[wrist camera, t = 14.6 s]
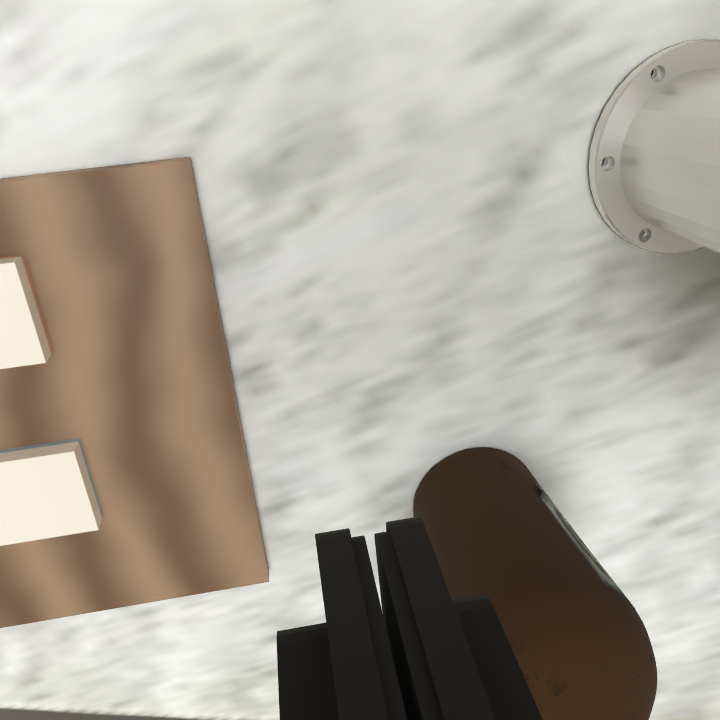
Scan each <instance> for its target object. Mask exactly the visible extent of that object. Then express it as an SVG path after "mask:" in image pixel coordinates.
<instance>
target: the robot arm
mask: <svg viewBox="0 0 720 720" xmlns="http://www.w3.org/2000/svg"><path fill="white" fill-rule="evenodd" d="M652 70H653V75H652V77H651V72H652ZM603 159H604V160H605V161H604V164H603V165H601V162H602V160H603ZM589 178H590V188H591V191H592V194H593V198H594V201H595V205H596V206H597V208H598V210H599V212H600V214H601V216H602V218H603V219H604V221H605V222H606V223H607V224H608V225H609V226H610V227H611V229H612V230H613V231H614V232H615V233H617V234H618V235H619V236H621V237H622V238H624V239H625V240H626V241H628V242H630V243H632V244H634V245H636V246H638V247H640V248H643V249H647V250H650V251H654V252H659V253H681V252H688V251H693V250H696V249H699V248H702V247H706V248H708V249H710V250H713V251H715V252H717V253H720V40H709V39H706V40H696V41H687V42H684V43H681V44H678V45H675V46H672V47H669V48H666V49H664V50H663V51H661V52H659V53H657V54H655V55H654V56H652V57H650V58H648V59H647V60H646V61H645V62H643V63H642V64H641V65H640V66H638V67H637V68H636V69H635V70H633V71H632V72H631V73H630V74H629V75H628V77H627V78H626V79H625V80H624V81H623V82H622V83H621V84H620V85H619V87H618V88H617V89H616V90H615V92H614V94H613V95H612V97H611V98H610V100H609V101H608V103H607V104H606V106H605V108H604V110H603V112H602V114H601V117H600V119H599V121H598V123H597V126H596V128H595V132H594V136H593V140H592V143H591V147H590V158H589ZM640 231H641V232H640ZM639 232H640V234H639ZM386 531H387V532H382V533H376V534H375V546H376V555H377V565H378V574H379V584H380V593H381V603H382V609H381V605H380V601H379V597H378V592H377V588H376V584H375V579H374V575H373V571H372V566H371V562H370V558H369V553H368V549H367V545H366V541H365V537H364V536H358V537H352V538H351V534H350V530H349V528H348V529H342V530H336V531H330V532H325V533H319V534H315V538H316V546H317V554H318V561H319V569H320V577H321V584H322V592H323V600H324V608H325V615H326V623H321V624H316V625H310V626H305V627H299V628H293V629H288V630H282V631H277V660H278V684H279V709H280V720H543V719H542V717H541V714H540V712H539V710H538V707H537V705H536V703H535V701H534V698H533V696H532V694H531V691H530V689H529V687H528V685H527V682H526V680H525V678H524V675H523V673H522V671H521V668H520V666H519V664H518V662H517V659H516V657H515V655H514V652H513V650H512V648H511V646H510V643H509V641H508V639H507V636H506V634H505V632H504V630H503V627H502V625H501V623H500V620H499V618H498V616H497V614H496V611H495V609H494V607H493V605H492V603H491V601H490V599H489V597H488V596H487V595H486V594H483V595H478V596H472V597H466V598H461V599H455V600H452V599H451V596H450V593H449V591H448V588H447V585H446V582H445V580H444V577H443V574H442V571H441V569H440V566H439V563H438V560H437V558H436V555H435V552H434V550H433V547H432V544H431V541H430V539H429V536H428V533H427V530H426V528H425V525H424V522H423V520H422V518H421V517H414V518H408V519H402V520H396V521H390V522H387V523H386ZM382 612H383V614H382Z"/></svg>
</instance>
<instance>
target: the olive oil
mask: <svg viewBox="0 0 720 720" xmlns="http://www.w3.org/2000/svg"><path fill="white" fill-rule="evenodd" d="M413 511H414V517H421V518H422V520H423V522H424V525H425V528H426V530H427V533H428V536H429V539H430V541H431V544H432V547H433V550H434V552H435V555H436V558H437V560H438V563H439V566H440V569H441V571H442V574H443V577H444V580H445V582H446V585H447V588H448V591H449V593H450V596H451V599H452V600H455V599H461V598H466V597H472V596H478V595H483V594H486V595H487V596H488V597H489V599H490V601H491V603H492V605H493V607H494V609H495V611H496V614H497V616H498V618H499V620H500V623H501V625H502V627H503V630H504V632H505V634H506V636H507V639H508V641H509V643H510V646H511V648H512V650H513V652H514V655H515V657H516V659H517V662H518V664H519V666H520V668H521V671H522V673H523V675H524V678H525V680H526V682H527V685H528V687H529V689H530V691H531V694H532V696H533V698H534V701H535V703H536V705H537V707H538V710H539V712H540V714H541V717H542V719H543V720H649V717H650V714H651V711H652V707H653V704H654V700H655V695H656V689H657V668H656V661H655V657H654V653H653V649H652V646H651V642H650V639H649V636H648V633H647V631H646V628H645V626H644V624H643V622H642V620H641V618H640V617H639V615H638V613H637V612H636V610H635V608H634V607H633V605H632V604H631V603H630V601H629V600H628V599H627V598H626V596H625V595H624V594H623V592H622V591H621V590H620V589H619V587H618V586H617V585H616V584H615V582H614V581H613V580H612V579H611V577H610V576H609V575H608V573H607V572H606V571H605V570H604V568H603V567H602V566H601V565H600V563H599V562H598V561H597V560H596V558H595V557H594V556H593V554H592V553H591V552H590V551H589V549H588V548H587V547H586V545H585V544H584V543H583V541H582V540H581V539H580V538H579V536H578V535H577V534H576V532H575V531H574V530H573V528H572V527H571V526H570V525H569V523H568V522H567V521H566V519H565V518H564V517H563V515H562V514H561V513H560V512H559V510H558V509H557V508H556V506H555V505H554V504H553V502H552V501H551V499H550V498H549V497H548V495H547V494H546V493H545V492H544V490H543V489H542V488H541V486H540V485H539V483H538V482H537V481H536V479H535V478H534V477H533V475H532V474H531V472H530V471H529V470H528V468H527V467H526V466H525V465H524V464H523V463H522V462H521V461H520V460H519V459H517V458H516V457H515V456H513V455H511V454H509V453H507V452H504V451H501V450H497V449H491V448H476V449H470V450H465V451H462V452H459V453H456V454H454V455H452V456H450V457H448V458H446V459H444V460H443V461H441V462H440V463H439V464H437V465H436V466H435V467H434V468H433V469H432V470H431V471H430V472H429V473H428V474H427V475H426V476H425V477H424V479H423V480H422V482H421V484H420V485H419V487H418V490H417V492H416V495H415V499H414V506H413Z"/></svg>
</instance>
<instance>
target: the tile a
mask: <svg viewBox="0 0 720 720" xmlns="http://www.w3.org/2000/svg"><path fill="white" fill-rule="evenodd" d="M52 353H53V349H52V346H51V343H50V340H49V336H48V333H47V330H46V327H45V323H44V320H43V317H42V313H41V310H40V307H39V304H38V300H37V297H36V294H35V291H34V287H33V284H32V281H31V278H30V274H29V271H28V268H27V265H26V261H25V258H24V255H15V256H7V257H0V369H5V368H13V367H20V366H27V365H34V364H41V363H46V362H47V361H48V359H49V358H50V356H51V355H52Z"/></svg>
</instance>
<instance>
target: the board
mask: <svg viewBox="0 0 720 720" xmlns="http://www.w3.org/2000/svg"><path fill="white" fill-rule="evenodd" d="M15 255H24V258H25V261H26V265H27V268H28V271H29V274H30V278H31V281H32V284H33V287H34V291H35V294H36V297H37V300H38V304H39V307H40V310H41V313H42V317H43V320H44V323H45V327H46V330H47V333H48V336H49V340H50V343H51V346H52V349H53V353H52V355H51V356H50V358H49V359H48V361H47V362H46V363H41V364H34V365H27V366H20V367H13V368H5V369H0V450H4V449H11V448H18V447H24V446H31V445H38V444H44V443H51V442H58V441H65V440H71V439H78V438H80V440H81V444H82V447H83V450H84V453H85V457H86V460H87V463H88V466H89V470H90V473H91V476H92V479H93V483H94V486H95V489H96V492H97V496H98V499H99V502H100V506H101V509H102V512H103V518H102V521H101V524H100V527H99V530H96V531H90V532H83V533H77V534H71V535H65V536H59V537H53V538H46V539H40V540H34V541H28V542H22V543H16V544H9V545H3V546H0V628H3V627H9V626H15V625H21V624H27V623H32V622H38V621H44V620H50V619H56V618H61V617H67V616H73V615H79V614H85V613H90V612H96V611H102V610H108V609H114V608H119V607H125V606H131V605H137V604H143V603H148V602H154V601H160V600H166V599H172V598H177V597H183V596H189V595H195V594H201V593H206V592H212V591H218V590H224V589H230V588H235V587H241V586H247V585H253V584H259V583H264V582H269V567H268V562H267V557H266V551H265V546H264V541H263V536H262V530H261V525H260V520H259V515H258V509H257V504H256V499H255V494H254V488H253V483H252V478H251V473H250V467H249V462H248V457H247V452H246V446H245V441H244V436H243V431H242V425H241V420H240V415H239V409H238V404H237V399H236V394H235V388H234V383H233V378H232V373H231V367H230V362H229V357H228V352H227V346H226V341H225V336H224V331H223V325H222V320H221V315H220V310H219V304H218V299H217V294H216V289H215V283H214V278H213V273H212V268H211V262H210V257H209V252H208V247H207V241H206V236H205V231H204V226H203V220H202V215H201V210H200V205H199V199H198V194H197V189H196V184H195V178H194V173H193V168H192V163H191V157H185V158H177V159H168V160H159V161H151V162H142V163H133V164H124V165H116V166H107V167H98V168H90V169H81V170H72V171H64V172H55V173H46V174H38V175H29V176H20V177H12V178H3V179H0V257H7V256H15Z"/></svg>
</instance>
